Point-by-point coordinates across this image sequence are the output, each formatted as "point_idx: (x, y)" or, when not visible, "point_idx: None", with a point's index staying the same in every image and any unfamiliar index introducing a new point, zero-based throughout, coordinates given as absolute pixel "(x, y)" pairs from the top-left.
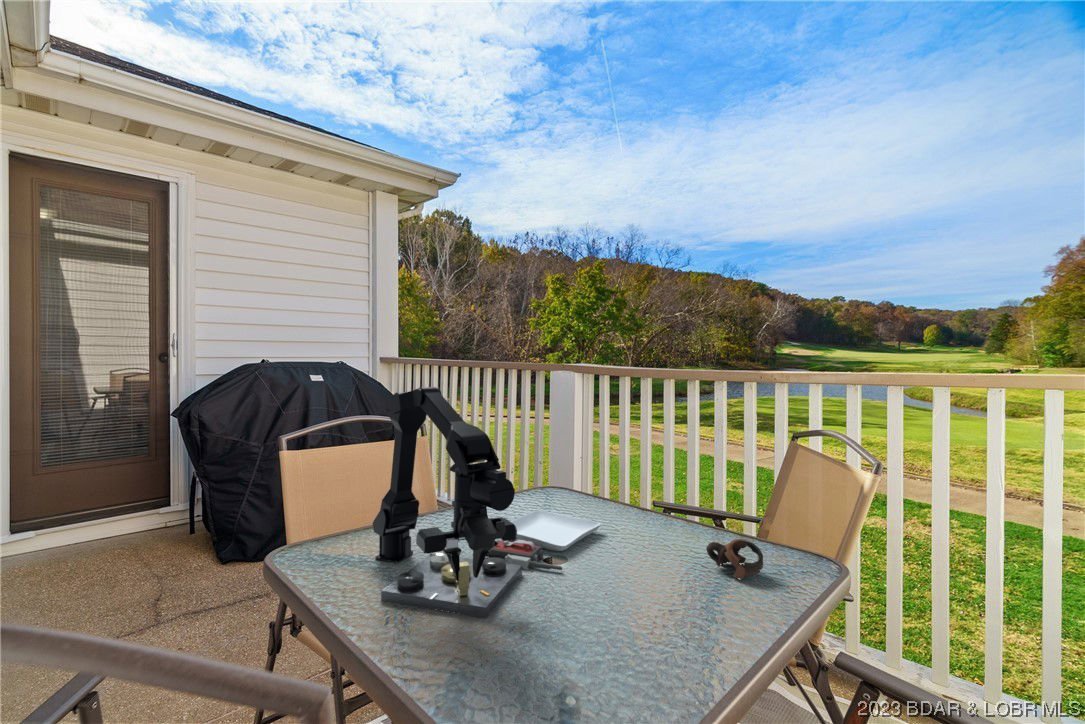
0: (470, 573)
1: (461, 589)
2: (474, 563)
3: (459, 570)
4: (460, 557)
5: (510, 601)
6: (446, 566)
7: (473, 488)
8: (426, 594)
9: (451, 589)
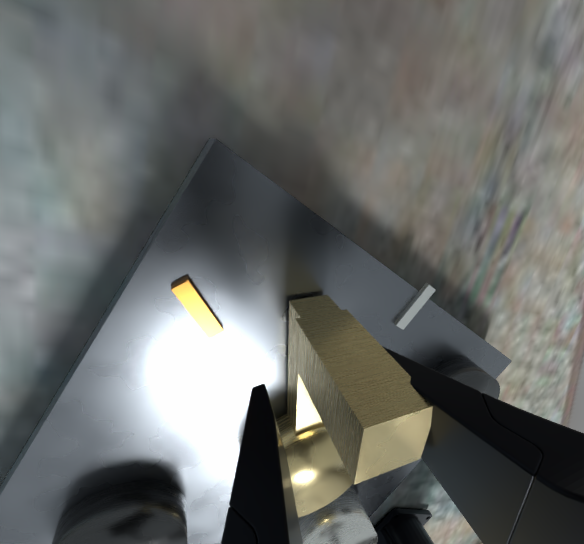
0: None
1: (333, 311)
2: (289, 482)
3: (412, 382)
4: None
5: (45, 291)
6: (339, 489)
7: None
8: (426, 327)
9: None
